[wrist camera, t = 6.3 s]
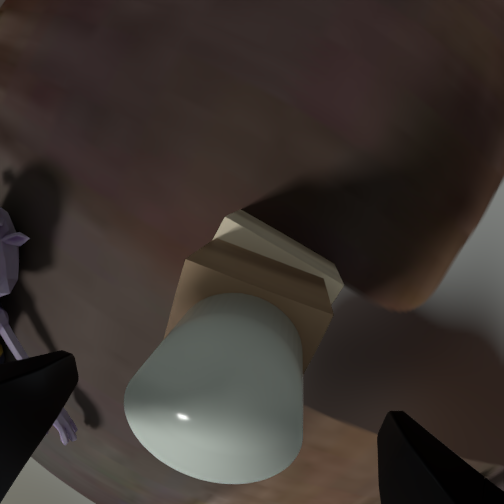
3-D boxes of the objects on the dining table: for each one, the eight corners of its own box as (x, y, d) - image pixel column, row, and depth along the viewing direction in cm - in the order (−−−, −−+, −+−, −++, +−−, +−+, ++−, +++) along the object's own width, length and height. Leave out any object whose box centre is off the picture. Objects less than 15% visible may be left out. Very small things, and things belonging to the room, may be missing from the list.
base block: (241, 209, 17) (225, 216, 13) (334, 263, 17) (344, 285, 13) (194, 296, 19) (170, 323, 15) (280, 344, 19) (275, 381, 15)
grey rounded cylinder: (205, 268, 10) (151, 320, 6) (327, 331, 10) (341, 412, 6) (160, 366, 11) (110, 434, 7) (264, 417, 11) (249, 499, 7)
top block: (216, 237, 14) (185, 258, 10) (323, 278, 13) (333, 314, 10) (186, 332, 15) (154, 376, 11) (281, 368, 15) (275, 422, 11)
